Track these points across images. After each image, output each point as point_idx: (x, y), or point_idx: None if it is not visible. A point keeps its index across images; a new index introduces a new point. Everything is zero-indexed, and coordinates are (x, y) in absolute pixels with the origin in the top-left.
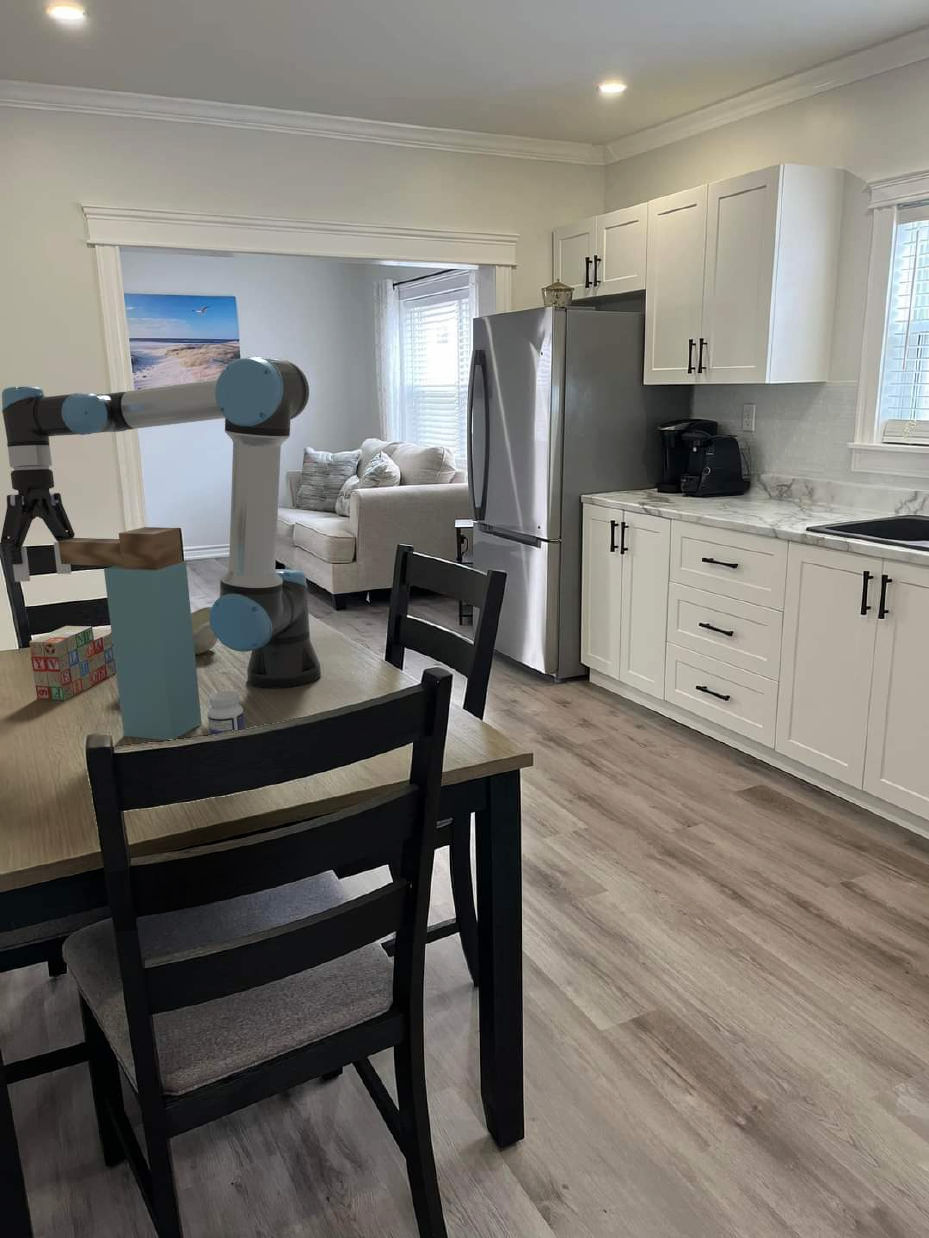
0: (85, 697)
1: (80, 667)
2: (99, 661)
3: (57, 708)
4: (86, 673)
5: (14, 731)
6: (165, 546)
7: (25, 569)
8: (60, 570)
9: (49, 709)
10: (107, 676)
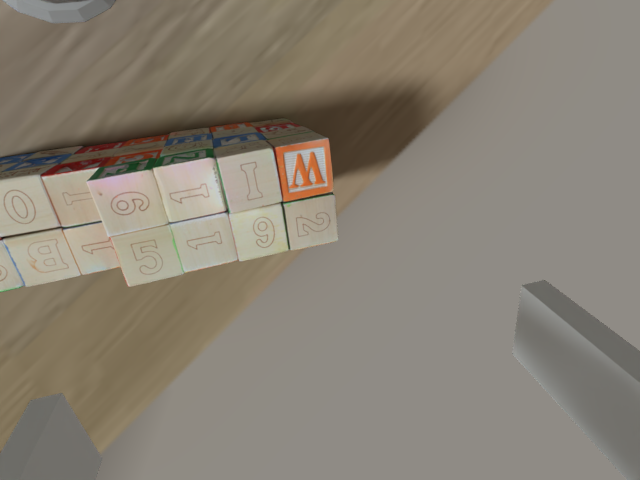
0: (251, 79)
1: (207, 137)
2: (101, 152)
3: (337, 89)
4: (181, 137)
5: (472, 72)
6: None
7: (607, 335)
8: (83, 464)
9: (347, 104)
10: (82, 146)
